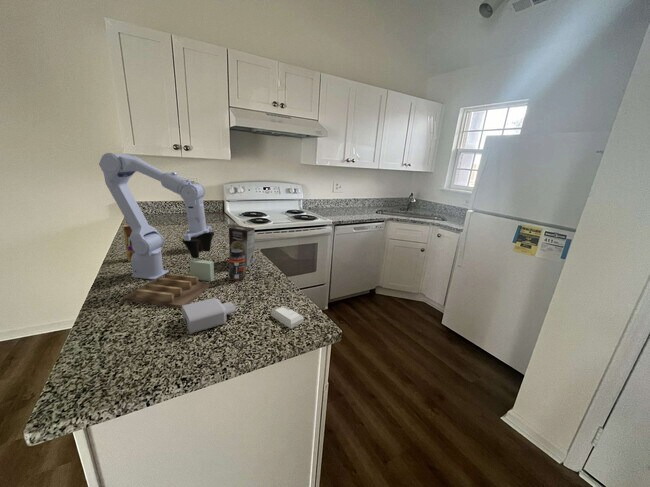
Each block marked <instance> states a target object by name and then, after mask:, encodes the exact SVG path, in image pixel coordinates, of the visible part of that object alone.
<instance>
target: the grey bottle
mask: <svg viewBox="0 0 650 487" xmlns="http://www.w3.org/2000/svg"><path fill="white" fill-rule="evenodd" d="M236 305H237V306H236ZM240 307H242V306H241V305H239V302H235V303H233V302H232V301H227V302H225V303H224V302H223V303H222V302H221V301H220V299H218V298H215V297H213V298H209V299H204V300H200V301H196V302H193V303H191V302H190V303H189V304H187V305H183V306H182V308H181V316H182V319H183V321H184V323H185V326H186V328H187V331H188V333H189V334H190V335H191V334H193V333H194V334H195V333H197V332H201V331H205V330H208V329H210V328H214V327H217V326H221V325H224V324H225V323H226V321H227V315H230V314H232V313H233V314H234V313H236V312H237V309H236V308H240Z"/></svg>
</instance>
